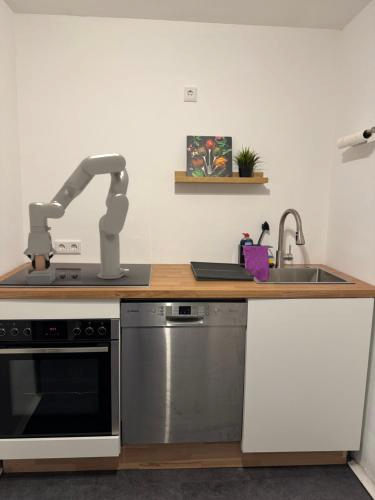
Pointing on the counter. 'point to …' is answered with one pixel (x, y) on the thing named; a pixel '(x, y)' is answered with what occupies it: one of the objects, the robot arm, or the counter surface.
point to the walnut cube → (31, 270)
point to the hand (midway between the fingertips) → (41, 267)
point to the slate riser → (41, 277)
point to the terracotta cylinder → (40, 262)
